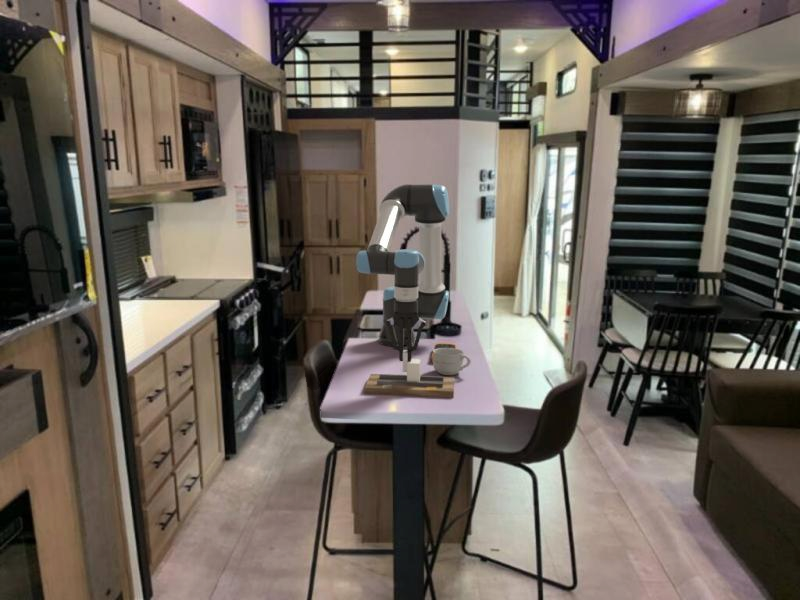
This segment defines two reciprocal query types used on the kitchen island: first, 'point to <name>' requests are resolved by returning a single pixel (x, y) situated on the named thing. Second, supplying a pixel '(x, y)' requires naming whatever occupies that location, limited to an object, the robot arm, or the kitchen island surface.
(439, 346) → the multimeter
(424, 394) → the wooden slider track
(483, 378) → the kitchen island surface
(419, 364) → the switch knob
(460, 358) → the teacup
